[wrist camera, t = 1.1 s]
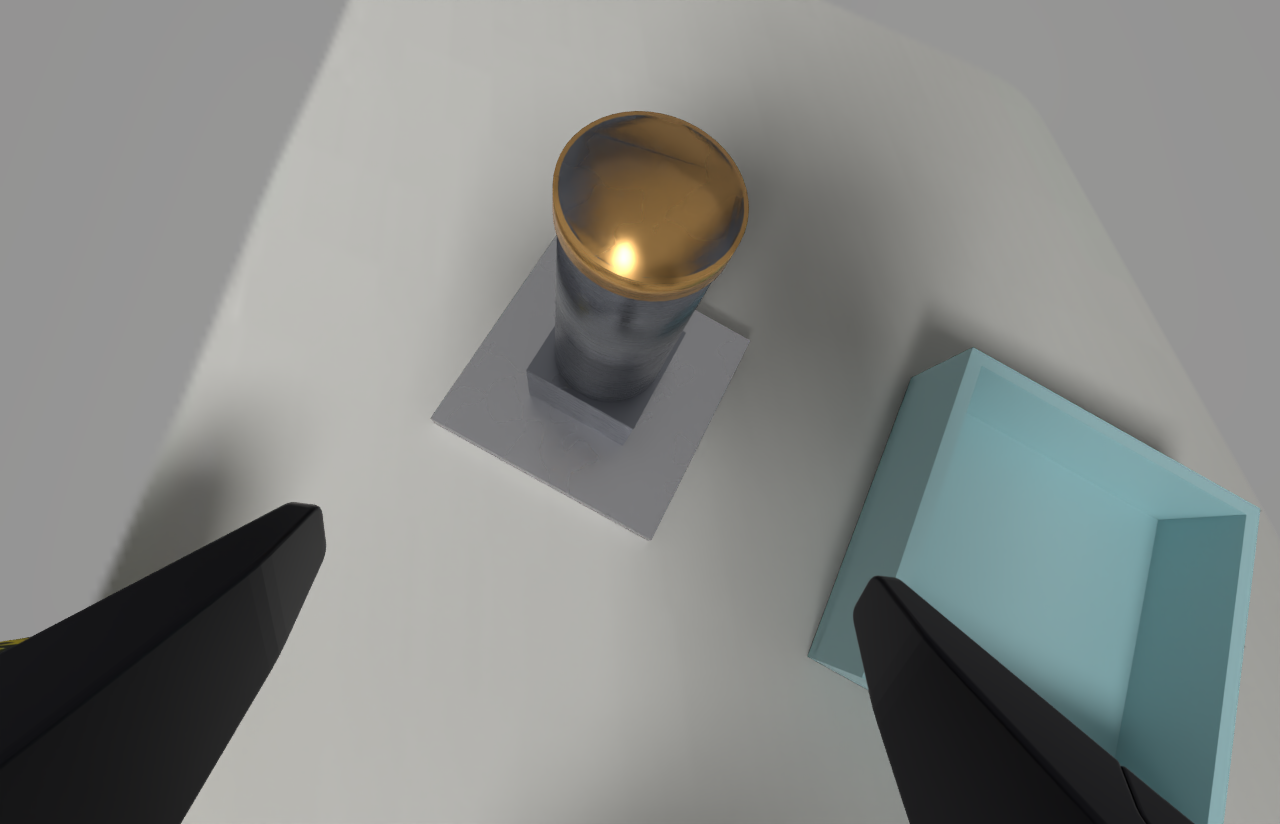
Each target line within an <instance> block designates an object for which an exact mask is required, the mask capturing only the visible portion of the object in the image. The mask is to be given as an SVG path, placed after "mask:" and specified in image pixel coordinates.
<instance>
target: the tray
mask: <svg viewBox="0 0 1280 824" xmlns="http://www.w3.org/2000/svg"><path fill="white" fill-rule="evenodd" d="M1259 515H1260V508H1258V507H1256V506H1255V505H1253V504H1251V503H1249V502H1248V501H1246V500H1244V499H1242V498H1240V497H1239V496H1237V495H1235V494H1233V493H1232V492H1230V491H1228V490H1226V489H1224V488H1223V487H1221V486H1219V485H1217V484H1216V483H1214V482H1212V481H1210V480H1208V479H1207V478H1205V477H1203V476H1201V475H1200V474H1198V473H1196V472H1194V471H1192V470H1191V469H1189V468H1187V467H1185V466H1184V465H1182V464H1180V463H1178V462H1176V461H1175V460H1173V459H1171V458H1169V457H1168V456H1166V455H1164V454H1162V453H1160V452H1159V451H1157V450H1155V449H1153V448H1152V447H1150V446H1148V445H1146V444H1144V443H1143V442H1141V441H1139V440H1137V439H1136V438H1134V437H1132V436H1130V435H1128V434H1127V433H1125V432H1123V431H1121V430H1120V429H1118V428H1116V427H1114V426H1112V425H1111V424H1109V423H1107V422H1105V421H1104V420H1102V419H1100V418H1098V417H1096V416H1095V415H1093V414H1091V413H1089V412H1088V411H1086V410H1084V409H1082V408H1080V407H1079V406H1077V405H1075V404H1073V403H1072V402H1070V401H1068V400H1066V399H1064V398H1063V397H1061V396H1059V395H1057V394H1056V393H1054V392H1052V391H1050V390H1048V389H1047V388H1045V387H1043V386H1041V385H1040V384H1038V383H1036V382H1034V381H1032V380H1031V379H1029V378H1027V377H1025V376H1024V375H1022V374H1020V373H1018V372H1016V371H1015V370H1013V369H1011V368H1009V367H1008V366H1006V365H1004V364H1002V363H1000V362H999V361H997V360H995V359H993V358H992V357H990V356H988V355H986V354H984V353H983V352H981V351H979V350H977V349H976V348H974V347H972V348H970V349H968V350H966V351H964V352H962V353H960V354H958V355H956V356H954V357H952V358H950V359H948V360H946V361H944V362H942V363H940V364H938V365H936V366H934V367H932V368H930V369H928V370H926V371H924V372H922V373H920V374H918V375H916V376H914V377H912V378H911V380H910V383H909V385H908V388H907V391H906V393H905V396H904V399H903V401H902V404H901V407H900V409H899V412H898V415H897V417H896V420H895V423H894V426H893V428H892V431H891V434H890V436H889V439H888V442H887V444H886V447H885V450H884V452H883V455H882V458H881V460H880V463H879V466H878V469H877V471H876V474H875V477H874V479H873V482H872V485H871V487H870V490H869V493H868V495H867V498H866V501H865V504H864V506H863V509H862V512H861V514H860V517H859V520H858V522H857V525H856V528H855V530H854V533H853V536H852V538H851V541H850V544H849V547H848V549H847V552H846V555H845V557H844V560H843V563H842V565H841V568H840V571H839V573H838V576H837V579H836V581H835V584H834V587H833V590H832V592H831V595H830V598H829V600H828V603H827V606H826V608H825V611H824V614H823V616H822V619H821V622H820V625H819V627H818V630H817V633H816V635H815V638H814V641H813V643H812V646H811V649H810V651H809V654H808V657H809V658H811V659H813V660H815V661H816V662H818V663H820V664H822V665H824V666H825V667H827V668H829V669H831V670H833V671H835V672H836V673H838V674H840V675H842V676H844V677H845V678H847V679H849V680H851V681H853V682H855V683H856V684H858V685H860V686H862V687H864V688H865V689H867V690H868V686H867V682H866V677H865V673H864V668H863V663H862V659H861V654H860V650H859V645H858V641H857V636H856V632H855V627H854V623H853V610H854V607H855V604H856V603H857V601H858V599H859V597H860V596H861V594H862V592H863V590H864V589H865V587H866V585H867V583H868V582H869V580H870V579H871V578H872V577H874V576H877V575H879V576H887V577H895V578H898V579H900V580H901V581H903V582H904V583H905V584H906V585H907V586H909V587H910V588H911V589H912V590H913V591H915V592H916V593H917V594H918V595H919V596H921V597H922V598H923V599H924V600H925V601H927V602H928V603H929V604H930V605H931V606H933V607H934V608H935V609H936V610H937V611H939V612H940V613H941V614H942V615H943V616H945V617H946V618H947V619H948V620H949V621H951V622H952V623H953V624H954V625H955V626H957V627H958V628H959V629H960V630H961V631H963V632H964V633H965V634H966V635H968V636H969V637H970V638H971V639H972V640H974V641H975V642H976V643H977V644H978V645H980V646H981V647H982V648H983V649H984V650H986V651H987V652H988V653H989V654H990V655H992V656H993V657H994V658H995V659H996V660H998V661H999V662H1000V663H1001V664H1002V665H1004V666H1005V667H1006V668H1007V669H1008V670H1010V671H1011V672H1012V673H1013V674H1014V675H1016V676H1017V677H1018V678H1019V679H1020V680H1022V681H1023V682H1024V683H1025V684H1026V685H1028V686H1029V687H1030V688H1031V689H1032V690H1034V691H1035V692H1036V693H1037V694H1038V695H1040V696H1041V697H1042V698H1043V699H1044V700H1046V701H1047V702H1048V703H1049V704H1050V705H1052V706H1053V707H1054V708H1055V709H1056V710H1058V711H1059V712H1060V713H1061V714H1062V715H1064V716H1065V717H1066V718H1067V719H1069V720H1070V721H1071V722H1072V723H1073V724H1075V725H1076V726H1077V727H1078V728H1079V729H1081V730H1082V731H1083V732H1084V733H1085V734H1087V735H1088V736H1089V737H1090V738H1091V739H1093V740H1094V741H1095V742H1096V743H1097V744H1099V745H1100V746H1101V747H1102V748H1103V749H1105V750H1106V751H1107V752H1108V753H1109V754H1111V755H1112V756H1113V757H1114V758H1115V759H1117V760H1118V762H1119V763H1120V766H1125V767H1126V768H1128V769H1129V770H1130V771H1131V772H1132V773H1134V774H1135V775H1136V776H1137V777H1138V778H1140V779H1141V780H1142V781H1143V782H1144V783H1145V784H1147V785H1148V786H1149V787H1150V788H1151V789H1153V790H1154V791H1155V792H1156V793H1158V794H1159V795H1160V796H1161V797H1162V798H1164V799H1165V800H1166V801H1167V802H1169V803H1170V804H1171V805H1172V806H1174V807H1175V808H1176V809H1177V810H1178V811H1180V812H1181V813H1182V814H1183V815H1185V816H1186V817H1187V818H1188V819H1190V820H1191V821H1192V822H1193V823H1194V824H1223V823H1224V814H1225V806H1226V797H1227V789H1228V780H1229V772H1230V763H1231V755H1232V746H1233V738H1234V729H1235V720H1236V712H1237V703H1238V695H1239V686H1240V678H1241V669H1242V661H1243V652H1244V644H1245V635H1246V627H1247V618H1248V609H1249V601H1250V592H1251V584H1252V575H1253V567H1254V558H1255V550H1256V541H1257V533H1258V524H1259Z"/></svg>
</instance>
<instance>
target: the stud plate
mask: <svg viewBox="0 0 1280 824" xmlns="http://www.w3.org/2000/svg"><path fill="white" fill-rule="evenodd" d="M556 250H557V235H556V237H555V238H554V240H553V241H552V243H551V244H550V245H549V247H548V248H547V250H546V251H545V253H544V254H543V256H542V257H541V258H540V260H539V261H538V263H537V264H536V266H535V267H534V269H533V270H532V272H531V273H530V274H529V276H528V277H527V279H526V280H525V282H524V283H523V285H522V286H521V288H520V289H519V290H518V292H517V293H516V295H515V296H514V298H513V299H512V301H511V302H510V303H509V305H508V306H507V308H506V309H505V311H504V312H503V314H502V315H501V317H500V318H499V319H498V321H497V322H496V324H495V325H494V327H493V328H492V330H491V331H490V333H489V334H488V335H487V337H486V338H485V340H484V341H483V343H482V344H481V346H480V347H479V349H478V350H477V351H476V353H475V354H474V356H473V357H472V359H471V360H470V362H469V363H468V364H467V366H466V367H465V369H464V370H463V372H462V373H461V375H460V376H459V378H458V379H457V380H456V382H455V383H454V385H453V386H452V388H451V389H450V391H449V392H448V394H447V395H446V396H445V398H444V399H443V401H442V402H441V404H440V405H439V407H438V408H437V409H436V411H435V412H434V414H433V415H432V417H431V419H432V420H433V422H434V423H436V424H437V425H439V426H441V427H443V428H445V429H446V430H448V431H450V432H452V433H454V434H456V435H457V436H459V437H461V438H463V439H465V440H466V441H468V442H470V443H472V444H474V445H476V446H477V447H479V448H481V449H483V450H485V451H486V452H488V453H490V454H492V455H494V456H495V457H497V458H499V459H501V460H503V461H505V462H506V463H508V464H510V465H512V466H514V467H515V468H517V469H519V470H521V471H523V472H525V473H526V474H528V475H530V476H532V477H534V478H535V479H537V480H539V481H541V482H543V483H545V484H546V485H548V486H550V487H552V488H554V489H555V490H557V491H559V492H561V493H563V494H564V495H566V496H568V497H570V498H572V499H574V500H575V501H577V502H579V503H581V504H583V505H584V506H586V507H588V508H590V509H592V510H594V511H595V512H597V513H599V514H601V515H603V516H604V517H606V518H608V519H610V520H612V521H614V522H615V523H617V524H619V525H621V526H623V527H624V528H626V529H628V530H630V531H632V532H633V533H635V534H637V535H639V536H641V537H643V538H644V539H646V540H651V539H652V537H653V535H654V533H655V531H656V529H657V527H658V525H659V523H660V521H661V519H662V517H663V515H664V513H665V511H666V509H667V507H668V505H669V503H670V501H671V499H672V497H673V495H674V493H675V491H676V489H677V487H678V485H679V483H680V481H681V479H682V477H683V475H684V473H685V471H686V469H687V467H688V465H689V463H690V461H691V459H692V457H693V455H694V453H695V451H696V449H697V447H698V445H699V443H700V441H701V439H702V437H703V435H704V433H705V431H706V429H707V427H708V425H709V423H710V421H711V419H712V417H713V415H714V413H715V411H716V409H717V407H718V405H719V403H720V401H721V399H722V397H723V395H724V393H725V391H726V389H727V387H728V385H729V383H730V381H731V379H732V377H733V375H734V373H735V371H736V369H737V367H738V365H739V363H740V360H741V358H742V356H743V354H744V352H745V350H746V348H747V346H748V344H749V342H750V340H749V339H747V338H745V337H743V336H742V335H740V334H738V333H736V332H734V331H733V330H731V329H729V328H727V327H725V326H724V325H722V324H720V323H718V322H716V321H715V320H713V319H711V318H709V317H708V316H706V315H704V314H702V313H700V312H699V311H697V310H695V311H694V313H693V314H692V316H691V318H690V320H689V321H688V323H687V325H686V326H685V328H684V330H683V331H684V332H686V334H685V336H684V338H683V340H682V341H681V343H680V345H679V347H678V349H677V351H676V352H675V354H674V356H673V358H672V360H671V361H670V363H669V365H668V367H667V369H666V371H665V372H664V374H663V376H662V378H661V380H660V382H659V383H658V385H657V387H656V389H655V391H654V393H653V394H652V396H651V398H650V400H649V402H648V404H647V405H646V407H645V409H644V411H643V413H642V415H641V416H640V418H639V420H638V422H637V424H636V426H635V427H634V429H633V431H632V432H631V434H630V435H629V437H628V438H627V440H626V442H625V443H624V445H623V446H622V445H620V444H619V443H617V442H615V441H613V440H611V439H610V438H608V437H606V436H604V435H602V434H601V433H599V432H597V431H595V430H593V429H592V428H590V427H588V426H586V425H584V424H582V423H581V422H579V421H577V420H575V419H573V418H572V417H570V416H568V415H566V414H564V413H563V412H561V411H559V410H557V409H555V408H554V407H552V406H550V405H548V404H546V403H545V402H543V401H541V400H539V399H537V398H535V397H534V396H532V395H530V394H529V387H528V379H527V372H526V369H527V368H528V366H529V365H530V363H531V362H532V360H533V359H534V357H535V356H536V354H537V352H538V351H539V349H540V348H541V346H542V345H543V343H544V342H545V340H546V338H547V337H548V335H549V334H550V332H551V331H552V329H553V328H554V326H555V303H556Z"/></svg>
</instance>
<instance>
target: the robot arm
mask: <svg viewBox="0 0 1280 824" xmlns="http://www.w3.org/2000/svg"><path fill="white" fill-rule="evenodd" d="M325 552H326V539H325V531H324V523H323V514H322V510H321V509H320V507H319V506H317V505H313V504H305V503H297V502H290V503H287V504H284V505H282V506H281V507H279V508H277V509H275V510H273V511H271V512H269V513H267V514H265V515H263V516H261V517H259V518H258V519H256V520H254V521H252V522H250V523H248V524H246V525H244V526H242V527H240V528H238V529H237V530H235V531H233V532H231V533H229V534H227V535H225V536H223V537H221V538H219V539H217V540H216V541H214V542H212V543H210V544H208V545H206V546H204V547H202V548H200V549H198V550H196V551H194V552H193V553H191V554H189V555H187V556H185V557H183V558H181V559H179V560H177V561H175V562H173V563H172V564H170V565H168V566H166V567H164V568H162V569H160V570H158V571H156V572H154V573H152V574H151V575H149V576H147V577H145V578H143V579H141V580H139V581H137V582H135V583H133V584H131V585H129V586H128V587H126V588H124V589H122V590H120V591H118V592H116V593H114V594H112V595H110V596H108V597H107V598H105V599H103V600H101V601H99V602H97V603H95V604H93V605H91V606H89V607H87V608H86V609H84V610H82V611H80V612H78V613H76V614H74V615H72V616H70V617H68V618H67V619H64V620H63V621H61V622H59V623H57V624H55V625H53V626H51V627H49V628H47V629H45V630H44V631H42V632H40V633H38V634H36V635H34V636H32V637H30V638H28V639H26V640H24V641H22V642H21V643H19V644H17V645H15V646H13V647H11V648H9V649H7V650H5V651H3V652H1V653H0V824H181V823H182V821H183V819H184V817H185V816H186V814H187V812H188V811H189V809H190V807H191V806H192V804H193V802H194V800H195V799H196V797H197V795H198V794H199V792H200V790H201V789H202V787H203V785H204V783H205V782H206V780H207V778H208V777H209V775H210V773H211V772H212V770H213V768H214V767H215V765H216V763H217V761H218V760H219V758H220V756H221V755H222V753H223V751H224V750H225V748H226V746H227V744H228V743H229V741H230V739H231V738H232V736H233V734H234V733H235V731H236V729H237V728H238V726H239V724H240V722H241V721H242V719H243V717H244V716H245V714H246V712H247V711H248V709H249V707H250V705H251V704H252V702H253V700H254V699H255V697H256V695H257V694H258V692H259V690H260V689H261V687H262V685H263V683H264V682H265V680H266V678H267V677H268V675H269V673H270V672H271V670H272V668H273V666H274V664H275V663H276V661H277V659H278V657H279V655H280V653H281V651H282V649H283V647H284V645H285V643H286V641H287V639H288V637H289V634H290V632H291V630H292V628H293V626H294V623H295V621H296V619H297V617H298V615H299V612H300V610H301V608H302V606H303V604H304V601H305V599H306V597H307V595H308V593H309V590H310V588H311V586H312V584H313V582H314V579H315V577H316V575H317V573H318V571H319V568H320V566H321V564H322V562H323V559H324V556H325ZM853 623H854V627H855V632H856V636H857V641H858V645H859V650H860V654H861V659H862V663H863V668H864V673H865V677H866V682H867V686H868V691H869V695H870V699H871V703H872V707H873V711H874V714H875V717H876V721H877V724H878V727H879V730H880V733H881V737H882V740H883V743H884V746H885V749H886V752H887V755H888V758H889V761H890V764H891V767H892V771H893V774H894V777H895V780H896V783H897V786H898V789H899V792H900V795H901V798H902V801H903V804H904V808H905V811H906V814H907V817H908V820H909V823H910V824H1194V823H1193V822H1192V821H1191V820H1190V819H1188V818H1187V817H1186V816H1185V815H1183V814H1182V813H1181V812H1180V811H1178V810H1177V809H1176V808H1175V807H1174V806H1172V805H1171V804H1170V803H1169V802H1167V801H1166V800H1165V799H1164V798H1162V797H1161V796H1160V795H1159V794H1158V793H1156V792H1155V791H1154V790H1153V789H1151V788H1150V787H1149V786H1148V785H1147V784H1145V783H1144V782H1143V781H1142V780H1141V779H1140V778H1138V777H1137V776H1136V775H1135V774H1134V773H1132V772H1131V771H1130V770H1129V769H1128V768H1126V767H1125V766H1120V763H1119V762H1118V760H1117V759H1115V758H1114V757H1113V756H1112V755H1111V754H1109V753H1108V752H1107V751H1106V750H1105V749H1103V748H1102V747H1101V746H1100V745H1099V744H1097V743H1096V742H1095V741H1094V740H1093V739H1091V738H1090V737H1089V736H1088V735H1087V734H1085V733H1084V732H1083V731H1082V730H1081V729H1079V728H1078V727H1077V726H1076V725H1075V724H1073V723H1072V722H1071V721H1070V720H1069V719H1067V718H1066V717H1065V716H1064V715H1062V714H1061V713H1060V712H1059V711H1058V710H1056V709H1055V708H1054V707H1053V706H1052V705H1050V704H1049V703H1048V702H1047V701H1046V700H1044V699H1043V698H1042V697H1041V696H1040V695H1038V694H1037V693H1036V692H1035V691H1034V690H1032V689H1031V688H1030V687H1029V686H1028V685H1026V684H1025V683H1024V682H1023V681H1022V680H1020V679H1019V678H1018V677H1017V676H1016V675H1014V674H1013V673H1012V672H1011V671H1010V670H1008V669H1007V668H1006V667H1005V666H1004V665H1002V664H1001V663H1000V662H999V661H998V660H996V659H995V658H994V657H993V656H992V655H990V654H989V653H988V652H987V651H986V650H984V649H983V648H982V647H981V646H980V645H978V644H977V643H976V642H975V641H974V640H972V639H971V638H970V637H969V636H968V635H966V634H965V633H964V632H963V631H961V630H960V629H959V628H958V627H957V626H955V625H954V624H953V623H952V622H951V621H949V620H948V619H947V618H946V617H945V616H943V615H942V614H941V613H940V612H939V611H937V610H936V609H935V608H934V607H933V606H931V605H930V604H929V603H928V602H927V601H925V600H924V599H923V598H922V597H921V596H919V595H918V594H917V593H916V592H915V591H913V590H912V589H911V588H910V587H909V586H907V585H906V584H905V583H904V582H903V581H901V580H900V579H898V578H895V577H887V576H879V575H877V576H874V577H872V578H871V579H870V580H869V582H868V583H867V585H866V587H865V589H864V590H863V592H862V594H861V596H860V597H859V599H858V601H857V603H856V604H855V607H854V610H853Z"/></svg>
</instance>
